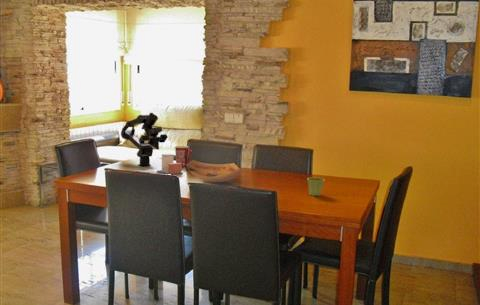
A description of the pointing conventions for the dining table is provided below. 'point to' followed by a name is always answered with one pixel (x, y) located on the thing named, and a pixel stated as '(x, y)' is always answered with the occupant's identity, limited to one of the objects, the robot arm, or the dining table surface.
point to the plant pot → (315, 186)
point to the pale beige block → (167, 160)
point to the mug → (182, 155)
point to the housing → (172, 169)
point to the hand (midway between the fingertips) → (158, 149)
